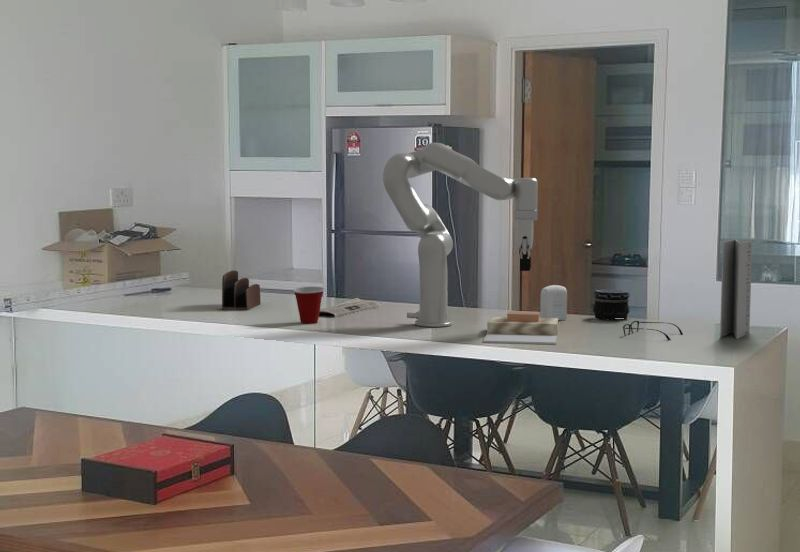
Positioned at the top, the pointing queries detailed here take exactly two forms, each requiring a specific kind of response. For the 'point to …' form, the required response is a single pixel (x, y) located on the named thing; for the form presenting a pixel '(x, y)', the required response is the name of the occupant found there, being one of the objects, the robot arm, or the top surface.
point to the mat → (520, 339)
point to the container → (611, 304)
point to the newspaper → (349, 307)
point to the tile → (523, 316)
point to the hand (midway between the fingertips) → (525, 269)
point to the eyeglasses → (648, 329)
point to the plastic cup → (309, 303)
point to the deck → (522, 326)
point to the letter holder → (239, 293)
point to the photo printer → (553, 302)
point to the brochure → (736, 288)
